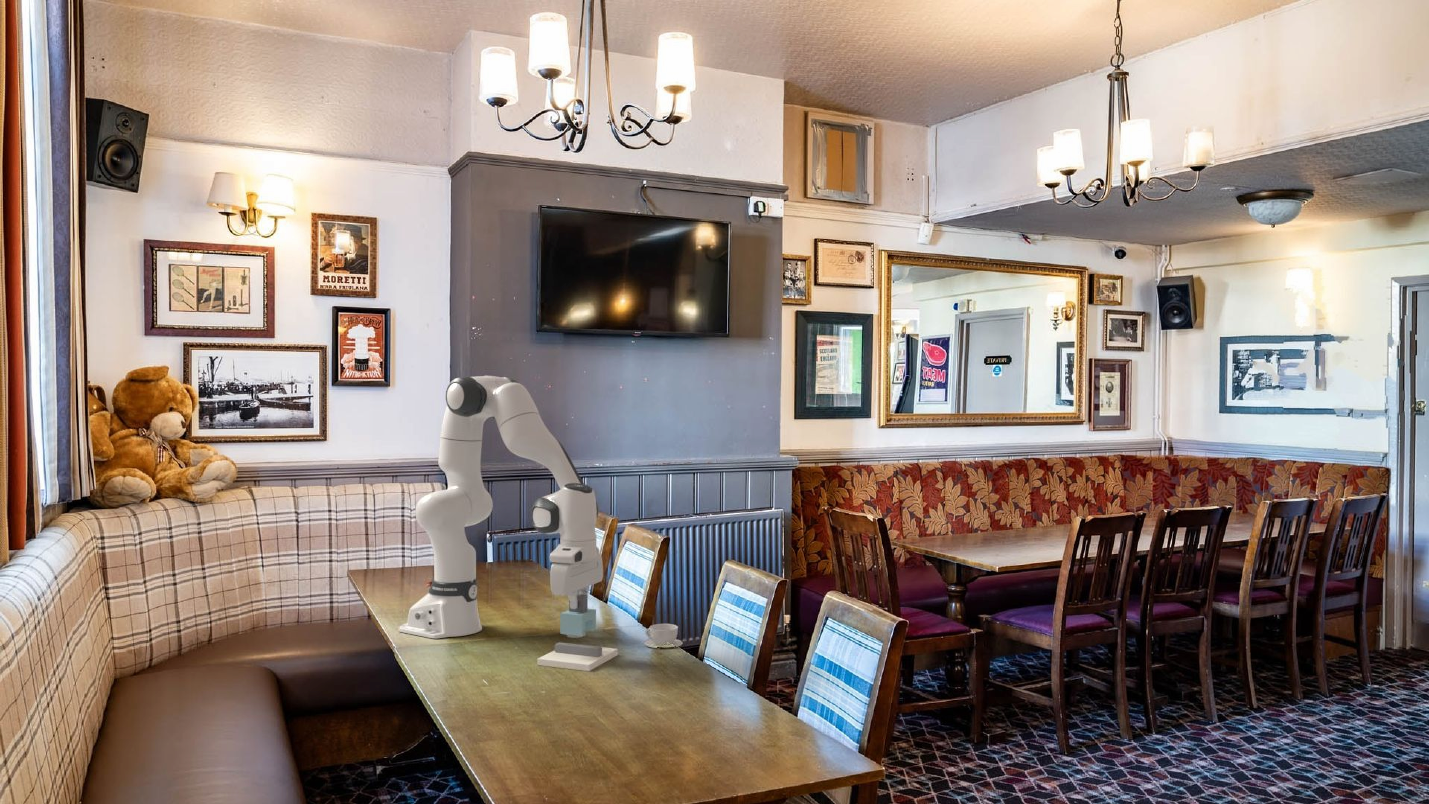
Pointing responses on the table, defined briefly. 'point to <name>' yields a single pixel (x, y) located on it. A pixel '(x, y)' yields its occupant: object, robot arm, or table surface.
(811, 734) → the table surface
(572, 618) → the block
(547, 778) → the table surface
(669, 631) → the teacup
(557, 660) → the cleat board
